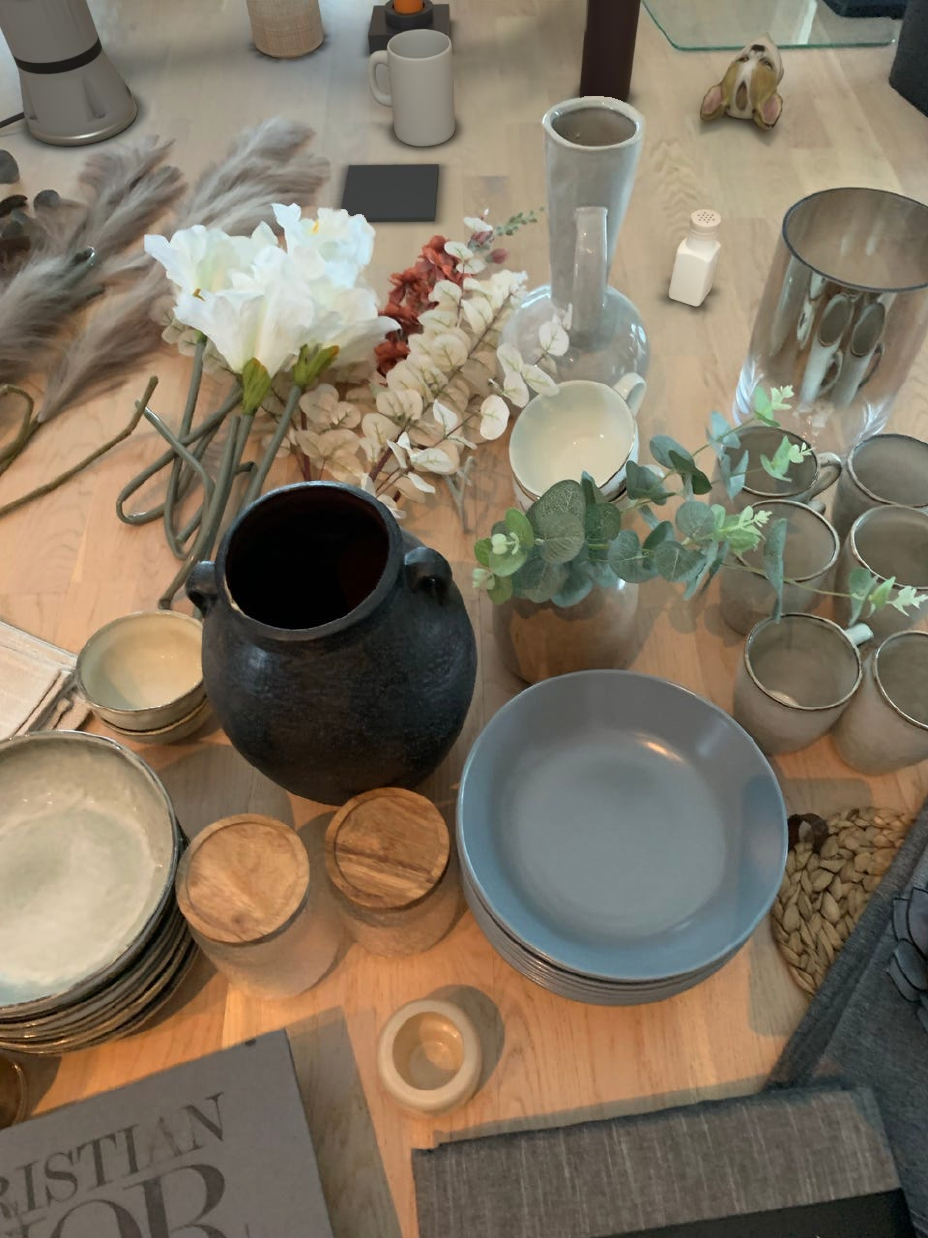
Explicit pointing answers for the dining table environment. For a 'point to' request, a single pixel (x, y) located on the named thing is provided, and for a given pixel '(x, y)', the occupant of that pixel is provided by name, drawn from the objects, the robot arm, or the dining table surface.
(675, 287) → the salt shaker
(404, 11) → the kettle button
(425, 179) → the coaster
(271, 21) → the planter
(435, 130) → the mug
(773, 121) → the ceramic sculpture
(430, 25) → the base
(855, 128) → the dining table surface
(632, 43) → the wine bottle
